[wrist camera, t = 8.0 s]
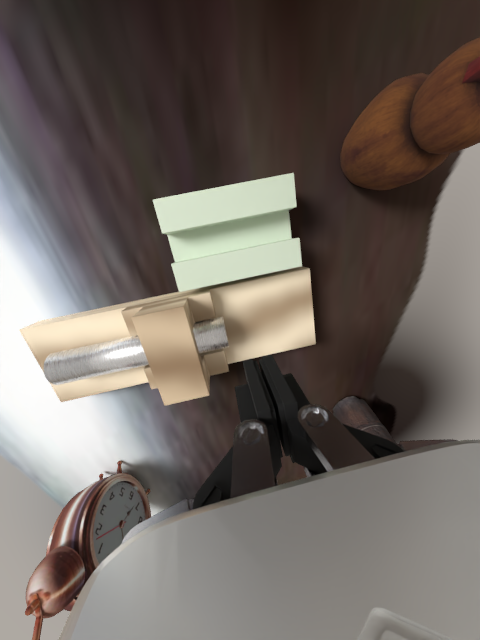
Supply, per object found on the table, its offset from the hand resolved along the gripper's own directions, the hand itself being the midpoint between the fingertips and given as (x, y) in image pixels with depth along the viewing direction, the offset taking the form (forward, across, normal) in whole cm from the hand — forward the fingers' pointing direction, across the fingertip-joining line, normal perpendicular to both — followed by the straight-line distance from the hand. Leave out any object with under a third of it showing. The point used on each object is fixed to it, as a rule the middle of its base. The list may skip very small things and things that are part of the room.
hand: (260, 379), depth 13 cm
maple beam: (+13, +6, +1) cm, 15 cm away
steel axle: (+11, +10, +1) cm, 14 cm away
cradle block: (+13, -1, -8) cm, 15 cm away
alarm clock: (+13, +20, +21) cm, 32 cm away
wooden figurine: (+13, -15, -12) cm, 24 cm away
